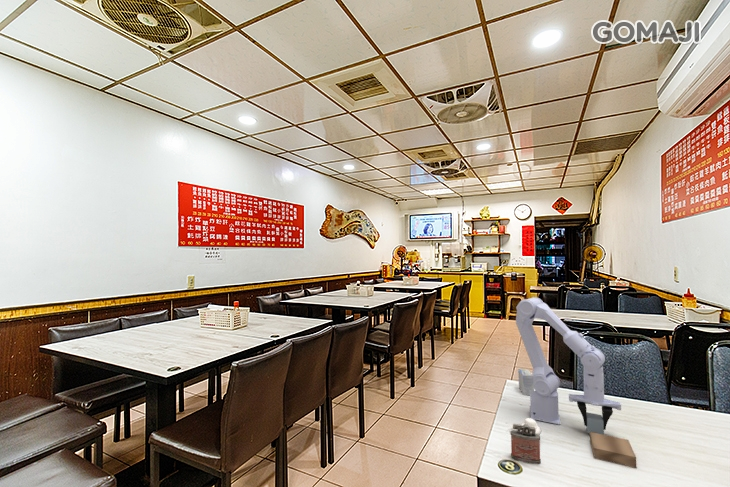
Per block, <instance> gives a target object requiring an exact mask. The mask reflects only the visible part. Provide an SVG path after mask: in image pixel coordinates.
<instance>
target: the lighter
mask: <svg viewBox="0 0 730 487" xmlns="http://www.w3.org/2000/svg"><path fill="white" fill-rule="evenodd" d="M521 430H522V431H521ZM509 432H510V433H509V434H510V447H511V450H510V452H511V453H510V458H511V459H512V460H513V459H514V461H517V462H521V463H525V464H532V465H540V464H541V462H542V460H541V446H540V445H541V442H540V441H541V434H540V435H538V434H536V433H535V432H536V428H535V427H530V426H528V425H527V424H524V425H521V423H520V424H518V423H513V424H512V429H511V430H510V431H509Z"/></svg>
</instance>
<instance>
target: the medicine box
mask: <svg viewBox="0 0 730 487" xmlns="http://www.w3.org/2000/svg"><path fill="white" fill-rule="evenodd" d="M533 383H534V380H533V377H532V372H531V371H530V370H529V369H527V368H526V369H524V368H523V369H522V368H520V369H518V388H519V391H520V392H521V393H522V395H523V396H530V391H535V389H534V386H533Z"/></svg>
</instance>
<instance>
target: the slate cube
mask: <svg viewBox="0 0 730 487" xmlns="http://www.w3.org/2000/svg"><path fill="white" fill-rule="evenodd" d="M586 418H587V426H585V428H586V432H587V434H590V432H593V433H598V434H603V435H605V432H604V431H605V430H604V421H603V418H602V414H598V413H592V412H587V411H586Z"/></svg>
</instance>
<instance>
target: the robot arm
mask: <svg viewBox="0 0 730 487" xmlns="http://www.w3.org/2000/svg"><path fill="white" fill-rule="evenodd" d="M515 308H516V314H515V315H516V316H515V324H516V327H517V330H518V332H519V335H520V338H521V341H522V343H523V346H524V348H525V351H526V352H527V355H528V358H529V361H530V365H531V366H532V372H531V374H532V377H533V380H534V383H533V386H534V391H530V395H529V396H530V397H529V399H530V400H529V401H530V402H529V404H530V405H529V412H530V418H531V419H534V420H535V421H541V422H545V423H550V424H555V425H561V416H560V413H559V412H560V411H559V392H558V389H559V388H560V385H561V381H560V378H559V376H557V375H556V374H555V372H554V370H553V368H552V367H551V366H550V365H549V364H548V361H547V359H546V356H545V354H544V352H543V349H542V346H541V344H540V341H539V339H538V336H537V333H536V331H535V329H534V326H533V322H534V320H535V319H540V320H544V321H545V322H546V323H548V324H549V325H550V326H551V327H552V328H553V329H554V330H555V331H557V332H558V333H559V334H560V335H561V336H562V338H563V339H562V340H563V343H564V344H565V345H567V347H569V349H571V351H572V352H573V353H574V354H575V355H577V357H579V360H580V363H581V364H582V366H583V372H582V373H583V394H575V393H573V394H572V393H568V401H569V402H570V403H573V402H574V403H575V402H576V403H577V404H576V405H577V407H578V410H579V412H580V414H581V416H582V418H583V425H584V427H586V426H587V418H586V412H587V405H592V406H596V407H601V415H602V418H603V421H604V431H605V430H606V429H607V424H608V422H609V420H610V418H611V416H612V415H613V413H614V411H613V409H615V410H618V411H622V404H621V402H620V401H615V400H611V399H607V398H605V379H604V378H605V377H604V376H605V375H604V374H605V373H604V366H603V365H604V363H605V361H606V356H605V354H604V353H603V351H602V350H601V349H599V348H596V346H595V345H591V344H590V343H589V341H588V340H586V339H585V338H584V334H583V333H582V332H578V331H577V330H571V329H570V328H569V327H568V326H567V324H565V323H564V322H563V321H562V320H561V319H560V318H559V317H558V316H557V314H556V313H555V312H554V311H553V310H552V309H551V308H550V306H549V305H548V304H547V303H546V302H543V300H542V299H541V298H539V297H537V296H533V297H529V298H528V299H527V298H524V299H521V300H520V301H519V302H518V304H517V306H516V307H515Z"/></svg>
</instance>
